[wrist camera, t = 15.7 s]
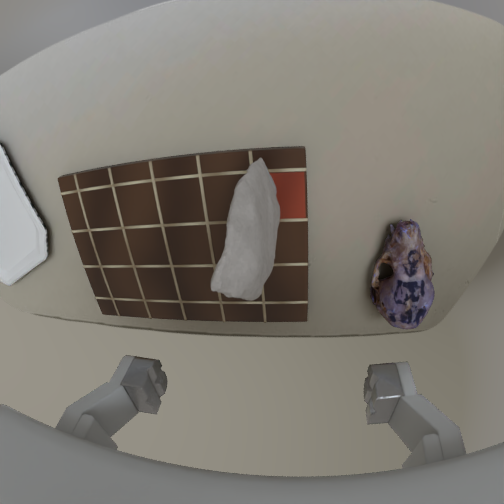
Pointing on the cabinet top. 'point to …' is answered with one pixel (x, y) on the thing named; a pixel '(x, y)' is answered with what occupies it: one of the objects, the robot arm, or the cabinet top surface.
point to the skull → (404, 278)
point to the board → (185, 235)
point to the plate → (18, 227)
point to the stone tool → (249, 236)
